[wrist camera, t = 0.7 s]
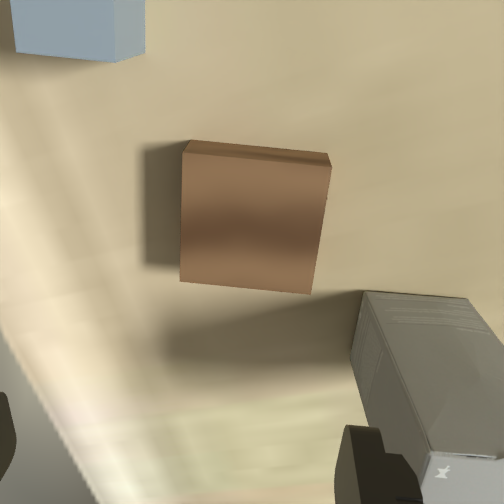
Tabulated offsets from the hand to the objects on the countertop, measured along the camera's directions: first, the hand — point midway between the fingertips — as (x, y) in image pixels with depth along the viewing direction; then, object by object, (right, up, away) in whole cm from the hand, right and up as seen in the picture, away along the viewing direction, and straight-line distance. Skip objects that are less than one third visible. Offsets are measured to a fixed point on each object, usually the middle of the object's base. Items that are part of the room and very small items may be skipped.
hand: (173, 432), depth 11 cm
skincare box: (+14, -1, +26) cm, 30 cm away
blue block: (-7, +19, +17) cm, 26 cm away
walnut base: (+2, +7, +23) cm, 24 cm away
